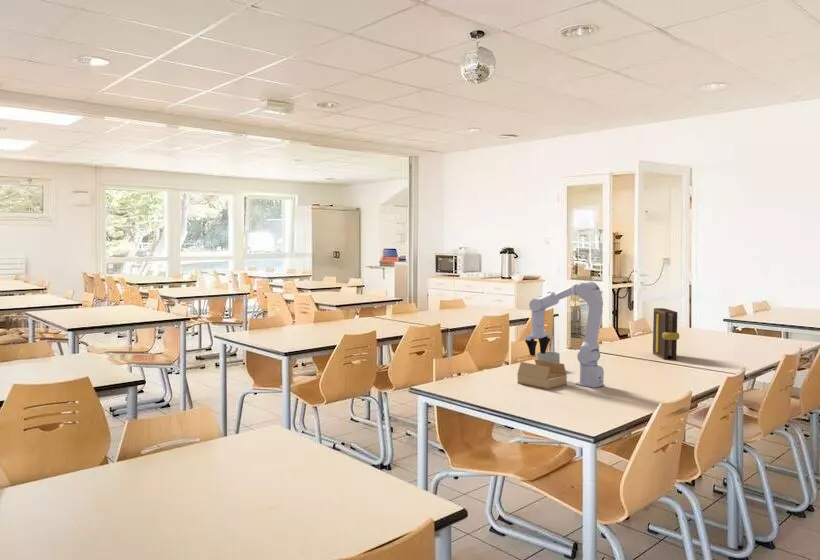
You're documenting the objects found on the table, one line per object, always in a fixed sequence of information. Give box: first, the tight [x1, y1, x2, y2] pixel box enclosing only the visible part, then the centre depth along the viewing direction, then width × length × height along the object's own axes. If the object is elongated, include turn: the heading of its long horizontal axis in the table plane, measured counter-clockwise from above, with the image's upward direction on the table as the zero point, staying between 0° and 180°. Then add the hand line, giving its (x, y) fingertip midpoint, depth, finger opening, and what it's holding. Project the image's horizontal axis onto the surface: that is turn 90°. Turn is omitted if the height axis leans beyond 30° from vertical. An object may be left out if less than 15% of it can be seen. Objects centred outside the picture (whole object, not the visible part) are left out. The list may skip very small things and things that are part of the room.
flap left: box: [516, 361, 550, 380], centre depth 268 cm, size 15×6×1 cm
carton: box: [517, 372, 568, 391], centre depth 272 cm, size 16×13×4 cm
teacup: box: [536, 350, 561, 363], centre depth 306 cm, size 14×11×8 cm
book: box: [652, 307, 680, 361], centre depth 336 cm, size 22×8×25 cm, turn 178°
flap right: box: [534, 358, 567, 376], centre depth 276 cm, size 15×6×1 cm
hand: (537, 354), depth 288 cm, fingers open, 7 cm apart
